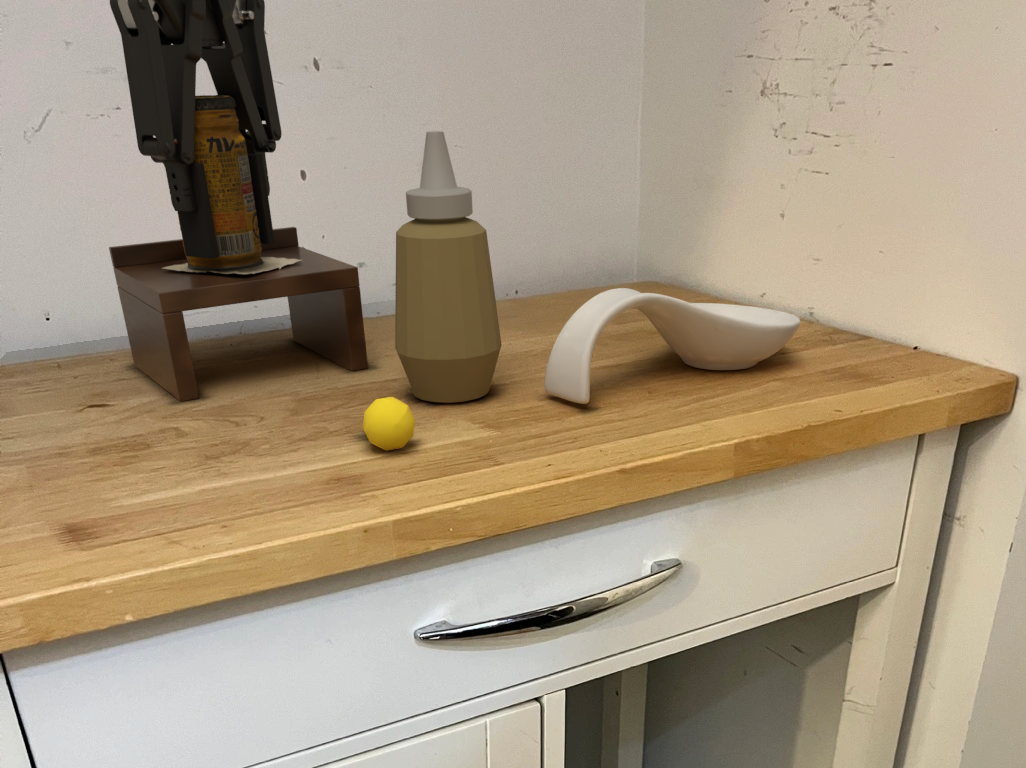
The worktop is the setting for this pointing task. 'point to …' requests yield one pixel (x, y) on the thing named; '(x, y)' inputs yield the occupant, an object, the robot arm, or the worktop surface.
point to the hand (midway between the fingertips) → (231, 248)
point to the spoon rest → (667, 336)
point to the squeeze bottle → (444, 288)
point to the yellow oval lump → (388, 423)
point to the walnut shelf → (166, 293)
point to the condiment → (227, 192)
